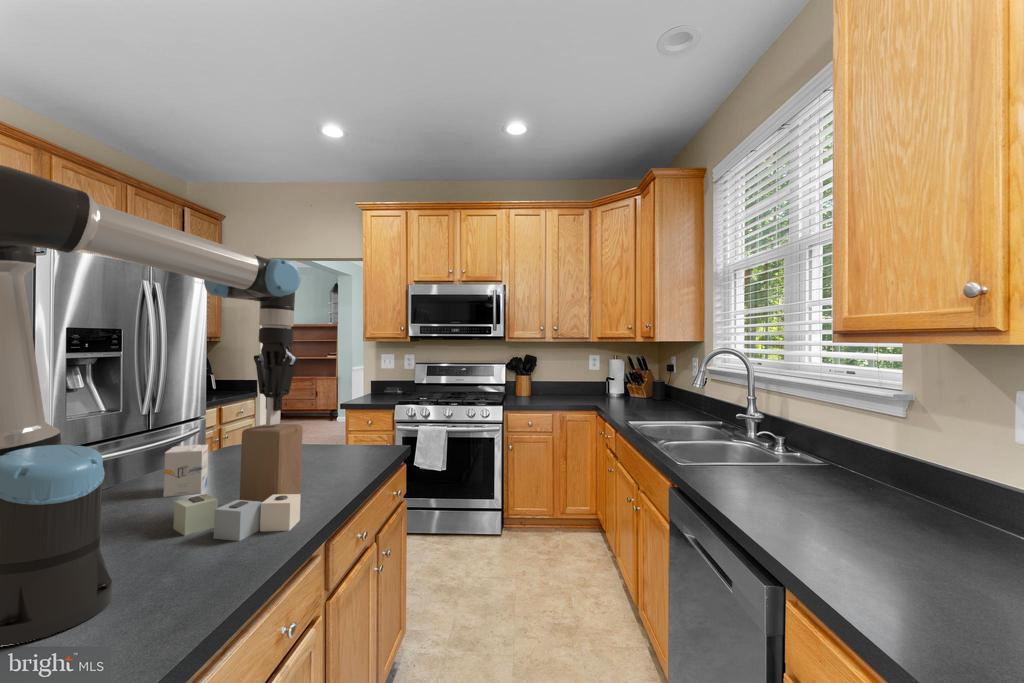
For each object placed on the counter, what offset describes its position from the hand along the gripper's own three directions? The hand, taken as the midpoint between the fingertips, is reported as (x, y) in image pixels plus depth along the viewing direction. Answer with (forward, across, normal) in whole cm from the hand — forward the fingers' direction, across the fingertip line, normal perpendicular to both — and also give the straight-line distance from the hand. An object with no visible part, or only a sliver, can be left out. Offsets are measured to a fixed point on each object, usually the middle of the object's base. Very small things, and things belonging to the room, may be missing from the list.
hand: (273, 423), depth 109 cm
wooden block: (+21, 0, 0) cm, 21 cm away
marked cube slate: (+21, -7, +13) cm, 25 cm away
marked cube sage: (+21, +4, +15) cm, 26 cm away
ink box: (+21, +32, +1) cm, 38 cm away
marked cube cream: (+21, -11, +6) cm, 24 cm away
